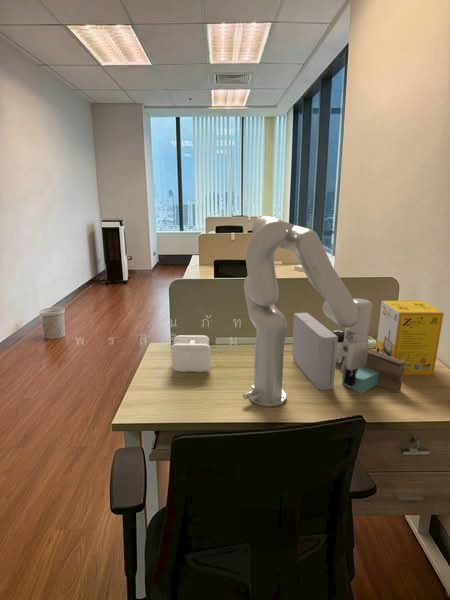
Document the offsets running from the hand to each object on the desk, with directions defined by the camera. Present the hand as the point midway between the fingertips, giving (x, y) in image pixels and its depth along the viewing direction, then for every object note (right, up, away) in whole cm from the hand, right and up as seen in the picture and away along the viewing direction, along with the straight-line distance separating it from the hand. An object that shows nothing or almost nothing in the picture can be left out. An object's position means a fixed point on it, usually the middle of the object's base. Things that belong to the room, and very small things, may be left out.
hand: (349, 384), depth 136 cm
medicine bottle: (+3, +5, +25) cm, 26 cm away
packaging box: (+28, +3, +20) cm, 34 cm away
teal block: (+5, -1, +5) cm, 7 cm away
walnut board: (+11, 0, +8) cm, 13 cm away
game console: (-10, +1, +14) cm, 17 cm away
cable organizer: (-57, +3, +18) cm, 59 cm away
